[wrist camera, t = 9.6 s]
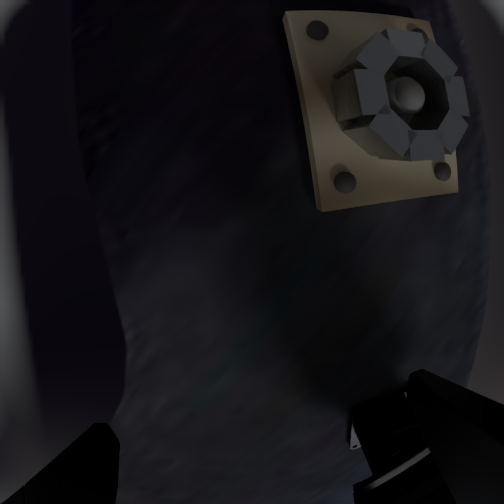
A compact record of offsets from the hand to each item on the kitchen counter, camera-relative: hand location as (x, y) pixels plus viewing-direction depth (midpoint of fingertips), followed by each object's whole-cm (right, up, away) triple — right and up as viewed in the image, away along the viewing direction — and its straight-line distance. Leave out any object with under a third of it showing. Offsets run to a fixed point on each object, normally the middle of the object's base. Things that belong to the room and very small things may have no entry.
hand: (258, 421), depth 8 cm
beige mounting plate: (+8, +14, +9) cm, 18 cm away
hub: (+8, +13, +8) cm, 17 cm away
